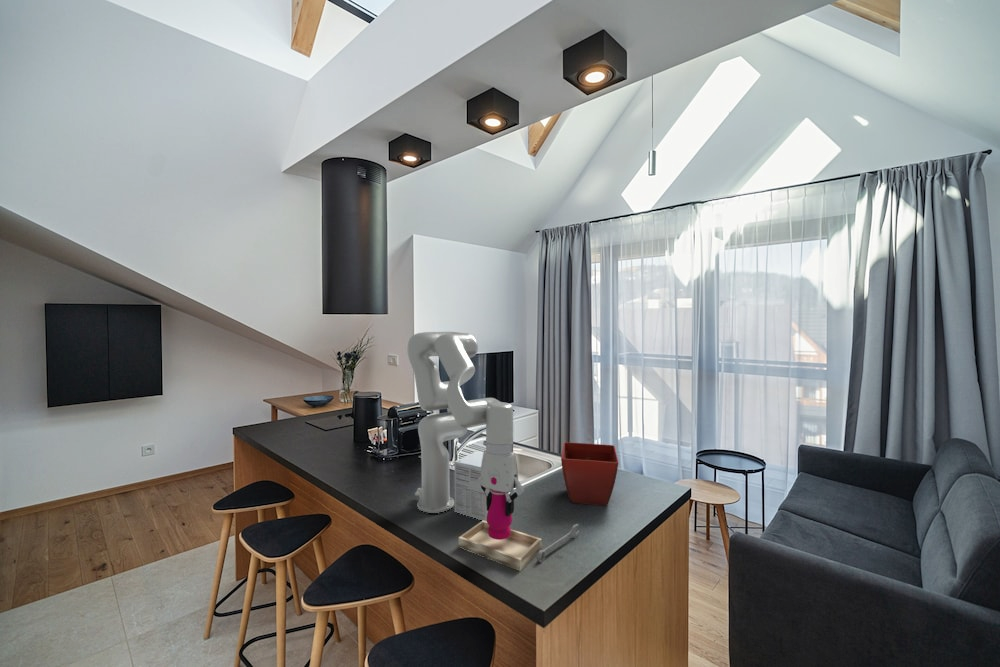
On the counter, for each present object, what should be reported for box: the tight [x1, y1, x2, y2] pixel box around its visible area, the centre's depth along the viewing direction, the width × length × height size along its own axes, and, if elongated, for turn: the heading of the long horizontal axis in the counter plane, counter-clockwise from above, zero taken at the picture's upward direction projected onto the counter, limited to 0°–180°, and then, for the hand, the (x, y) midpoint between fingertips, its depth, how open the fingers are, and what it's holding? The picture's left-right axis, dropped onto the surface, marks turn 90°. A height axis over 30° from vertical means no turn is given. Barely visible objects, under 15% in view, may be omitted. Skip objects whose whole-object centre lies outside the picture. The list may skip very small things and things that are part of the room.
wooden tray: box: [458, 520, 543, 572], centre depth 116 cm, size 20×12×3 cm, turn 57°
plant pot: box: [560, 441, 619, 507], centre depth 149 cm, size 19×19×17 cm
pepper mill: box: [487, 477, 513, 540], centre depth 116 cm, size 7×7×20 cm
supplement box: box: [454, 450, 488, 521], centre depth 140 cm, size 13×13×18 cm
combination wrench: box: [536, 523, 580, 563], centre depth 117 cm, size 4×1×20 cm
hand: (500, 511), depth 116 cm, fingers closed on pepper mill, 5 cm apart
